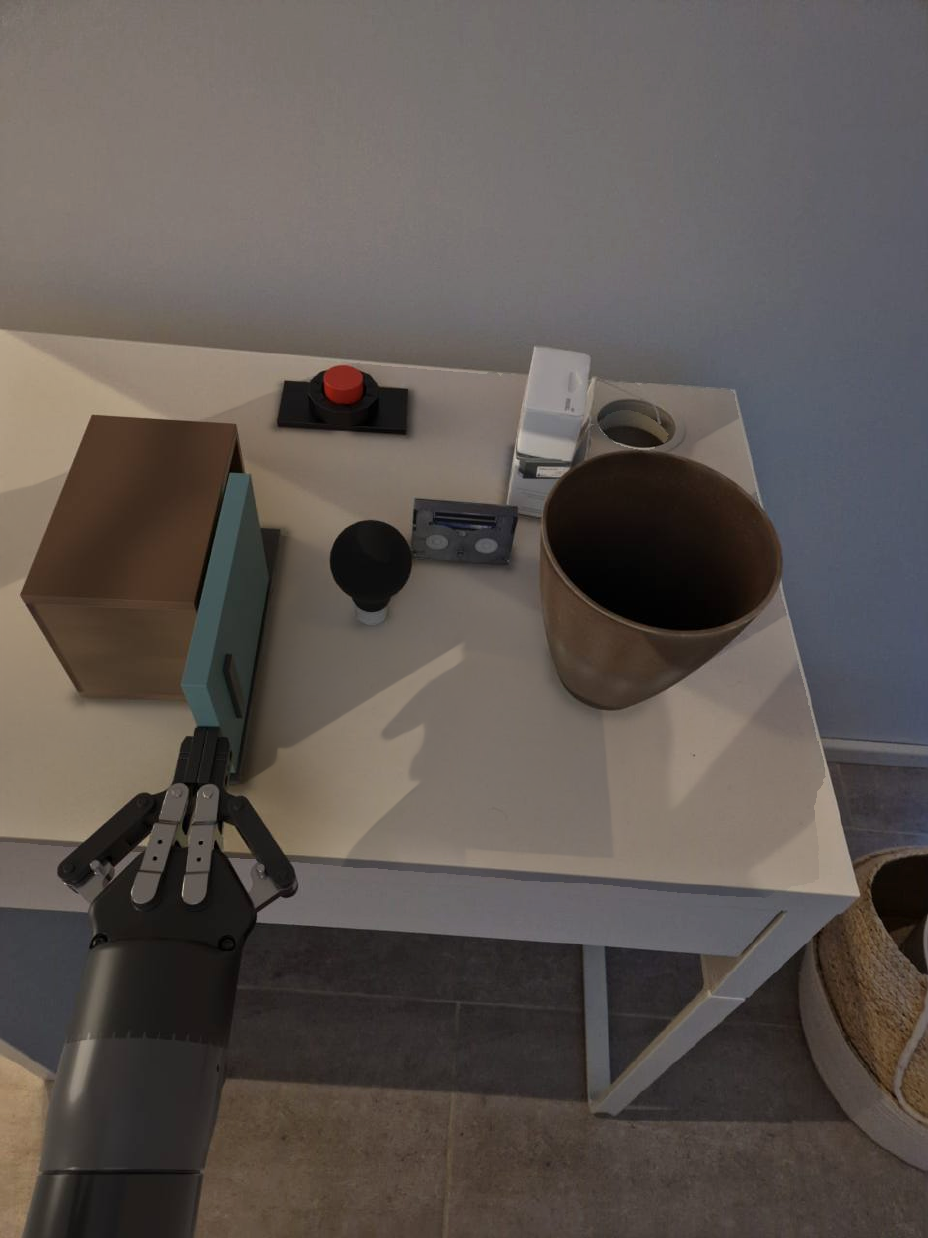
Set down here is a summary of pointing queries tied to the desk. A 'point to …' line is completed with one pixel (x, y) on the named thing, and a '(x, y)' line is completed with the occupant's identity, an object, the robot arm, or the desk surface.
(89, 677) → the cabinet
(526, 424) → the ink box
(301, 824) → the desk surface
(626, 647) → the plant pot
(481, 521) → the mini dv tape
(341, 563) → the light bulb
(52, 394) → the desk surface
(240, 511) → the door
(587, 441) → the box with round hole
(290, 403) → the button box
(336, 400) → the button
